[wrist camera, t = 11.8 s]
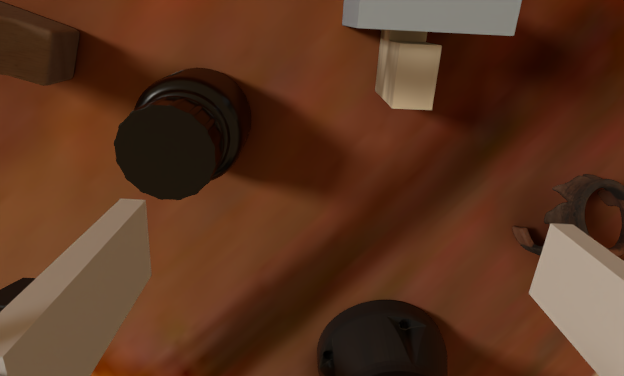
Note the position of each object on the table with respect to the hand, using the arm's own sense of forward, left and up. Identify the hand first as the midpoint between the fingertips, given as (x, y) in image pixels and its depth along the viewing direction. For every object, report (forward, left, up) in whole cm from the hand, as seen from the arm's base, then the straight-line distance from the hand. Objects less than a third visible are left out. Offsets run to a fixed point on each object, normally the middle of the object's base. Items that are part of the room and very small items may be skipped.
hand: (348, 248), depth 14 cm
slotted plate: (+4, -10, -27) cm, 29 cm away
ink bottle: (+4, +10, -27) cm, 29 cm away
